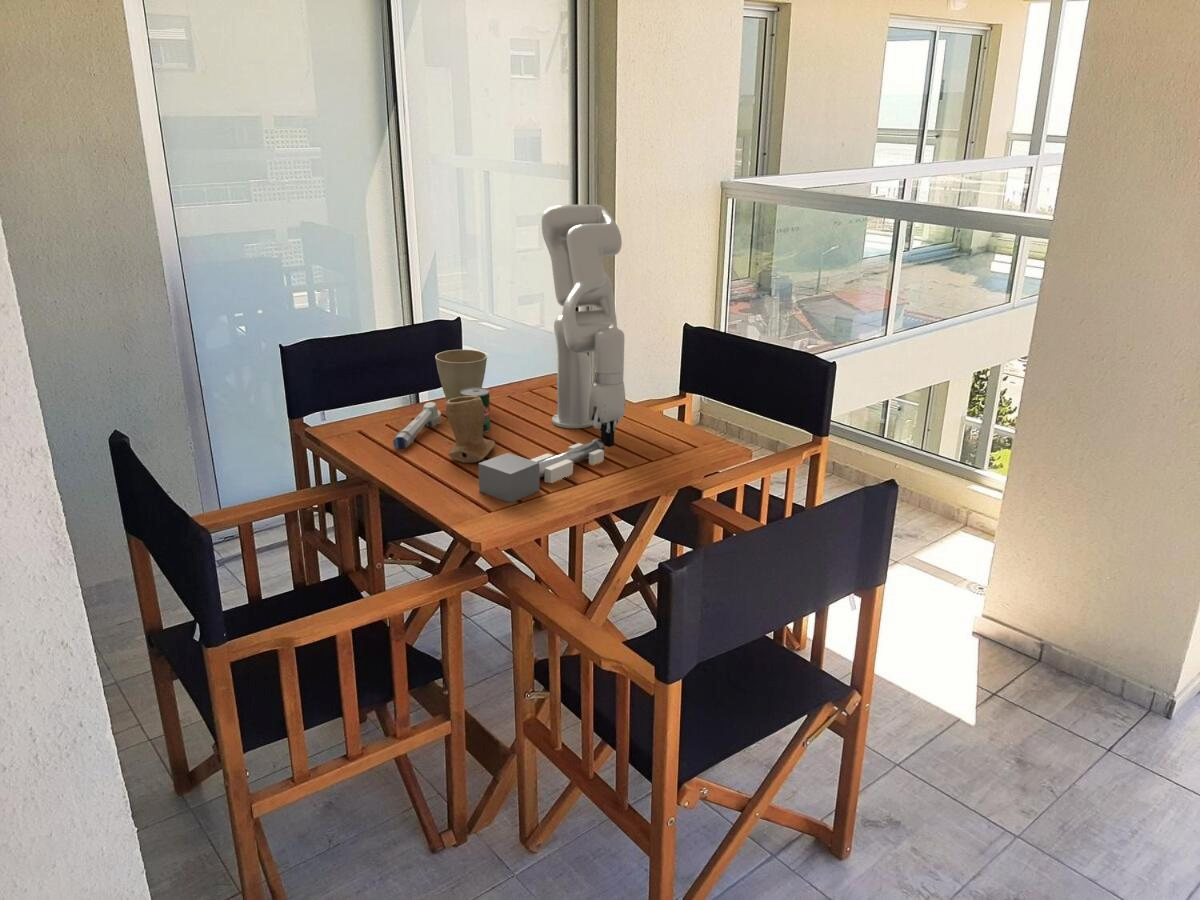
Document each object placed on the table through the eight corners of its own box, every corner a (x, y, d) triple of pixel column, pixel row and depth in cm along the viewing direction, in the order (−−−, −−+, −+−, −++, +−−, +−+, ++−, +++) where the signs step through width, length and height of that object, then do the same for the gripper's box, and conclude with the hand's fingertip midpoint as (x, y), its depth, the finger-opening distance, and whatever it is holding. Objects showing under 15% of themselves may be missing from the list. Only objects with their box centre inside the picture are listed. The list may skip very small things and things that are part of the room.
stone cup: (456, 443, 249) (454, 388, 244) (499, 446, 247) (498, 391, 242) (436, 462, 235) (434, 405, 230) (482, 466, 233) (480, 409, 228)
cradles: (578, 453, 242) (578, 441, 241) (603, 461, 237) (603, 448, 236) (525, 475, 228) (525, 461, 227) (550, 483, 223) (550, 470, 222)
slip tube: (592, 451, 243) (592, 437, 242) (604, 455, 241) (604, 440, 239) (528, 477, 226) (528, 461, 224) (541, 481, 223) (541, 465, 222)
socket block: (508, 480, 225) (507, 452, 222) (539, 490, 219) (539, 462, 216) (479, 491, 218) (478, 463, 215) (510, 502, 212) (510, 474, 209)
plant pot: (428, 412, 273) (425, 359, 268) (452, 398, 286) (450, 347, 281) (474, 418, 268) (472, 364, 263) (496, 404, 282) (495, 352, 276)
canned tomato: (488, 434, 256) (487, 395, 252) (459, 433, 256) (458, 395, 252) (492, 425, 263) (491, 387, 259) (464, 424, 263) (462, 386, 259)
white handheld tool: (389, 435, 242) (424, 396, 264) (392, 458, 245) (426, 417, 267) (408, 437, 241) (442, 397, 263) (411, 460, 244) (444, 418, 266)
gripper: (615, 369, 246) (613, 435, 252) (578, 380, 235) (577, 449, 241) (638, 374, 241) (636, 441, 247) (601, 386, 230) (600, 456, 236)
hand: (607, 445), depth 244 cm, fingers closed
